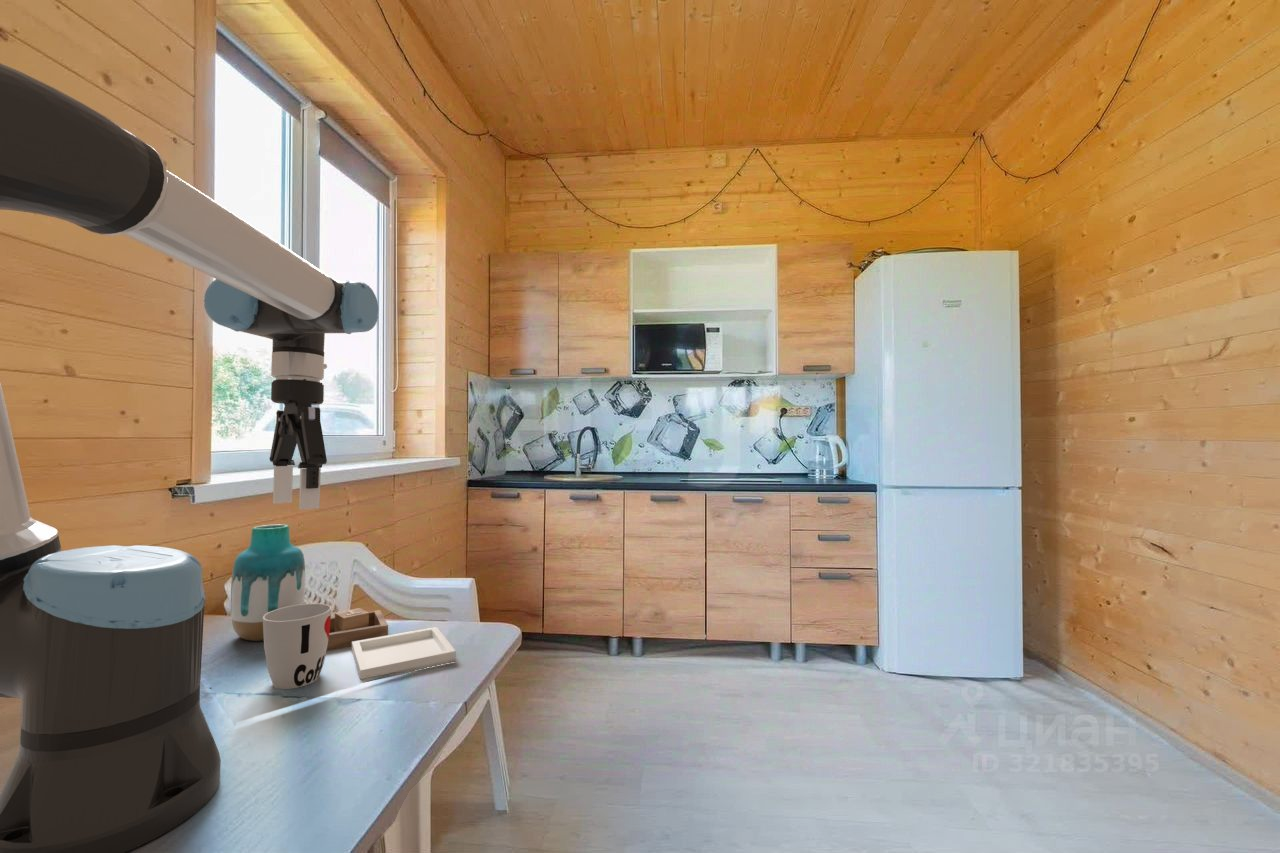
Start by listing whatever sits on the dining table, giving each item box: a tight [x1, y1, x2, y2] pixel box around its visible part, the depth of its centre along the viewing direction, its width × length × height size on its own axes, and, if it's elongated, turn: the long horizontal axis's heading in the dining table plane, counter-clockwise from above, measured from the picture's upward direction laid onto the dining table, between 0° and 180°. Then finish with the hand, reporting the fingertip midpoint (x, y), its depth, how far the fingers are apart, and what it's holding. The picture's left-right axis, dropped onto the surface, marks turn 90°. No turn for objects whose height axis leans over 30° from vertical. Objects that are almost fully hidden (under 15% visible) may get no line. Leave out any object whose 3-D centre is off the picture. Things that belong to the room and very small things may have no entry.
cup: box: [263, 603, 332, 690], centre depth 75 cm, size 8×8×10 cm
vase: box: [230, 523, 306, 642], centre depth 93 cm, size 11×11×19 cm
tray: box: [351, 626, 457, 684], centre depth 84 cm, size 13×13×2 cm
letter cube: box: [334, 607, 369, 632], centre depth 91 cm, size 4×4×4 cm
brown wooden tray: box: [326, 609, 389, 652], centre depth 91 cm, size 10×10×3 cm
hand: (295, 506), depth 90 cm, fingers open, 13 cm apart
